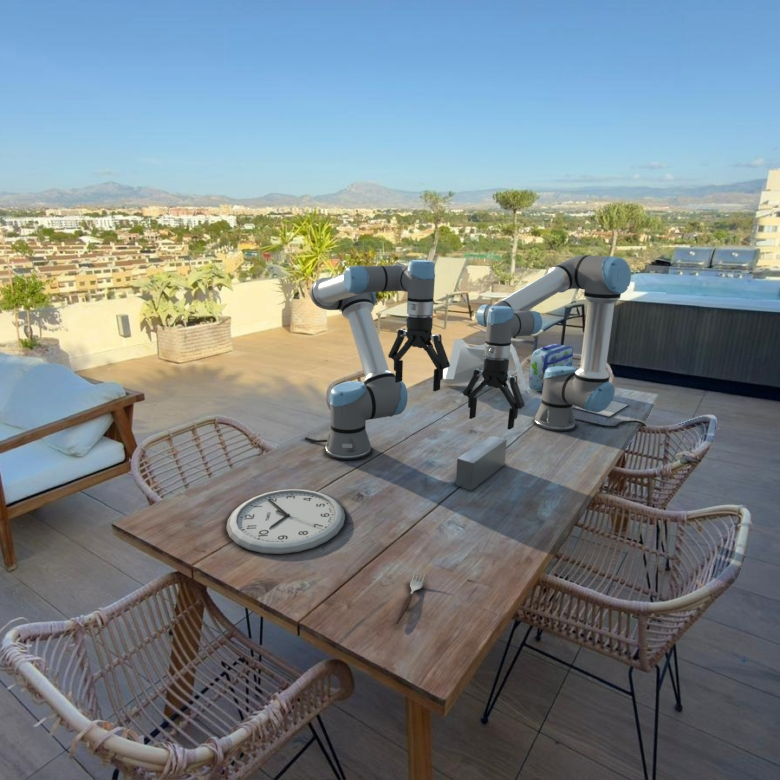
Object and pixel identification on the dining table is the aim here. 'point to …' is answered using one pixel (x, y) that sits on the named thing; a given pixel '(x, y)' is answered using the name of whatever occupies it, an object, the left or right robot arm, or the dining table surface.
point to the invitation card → (609, 408)
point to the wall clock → (285, 521)
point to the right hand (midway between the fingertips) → (491, 422)
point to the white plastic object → (474, 364)
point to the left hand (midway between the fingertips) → (417, 385)
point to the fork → (414, 586)
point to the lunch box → (548, 362)
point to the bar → (480, 462)
